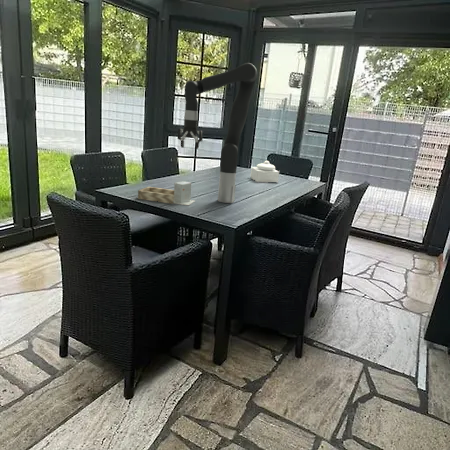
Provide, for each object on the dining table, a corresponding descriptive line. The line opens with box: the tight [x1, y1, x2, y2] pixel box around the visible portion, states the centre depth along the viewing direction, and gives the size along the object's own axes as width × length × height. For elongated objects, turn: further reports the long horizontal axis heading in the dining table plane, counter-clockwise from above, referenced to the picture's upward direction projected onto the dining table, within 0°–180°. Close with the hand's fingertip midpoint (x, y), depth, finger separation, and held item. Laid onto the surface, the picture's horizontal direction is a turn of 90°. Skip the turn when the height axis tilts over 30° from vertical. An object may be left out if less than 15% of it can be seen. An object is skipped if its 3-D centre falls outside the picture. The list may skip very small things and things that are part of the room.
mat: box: [173, 199, 196, 207], centre depth 203 cm, size 9×11×1 cm
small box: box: [173, 180, 192, 203], centre depth 202 cm, size 8×6×10 cm
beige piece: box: [137, 186, 175, 204], centre depth 206 cm, size 20×13×4 cm, turn 75°
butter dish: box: [249, 160, 280, 184], centre depth 289 cm, size 18×18×16 cm
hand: (189, 148), depth 211 cm, fingers open, 8 cm apart
